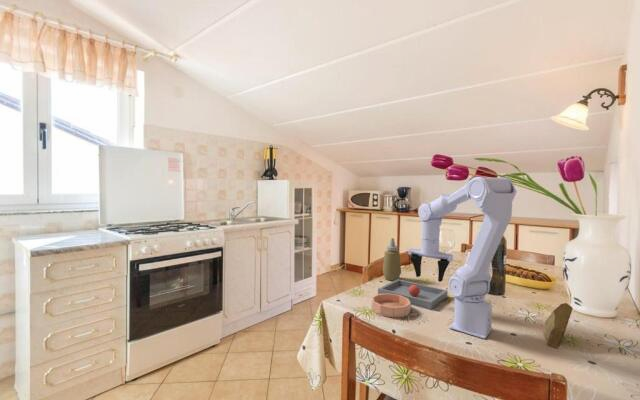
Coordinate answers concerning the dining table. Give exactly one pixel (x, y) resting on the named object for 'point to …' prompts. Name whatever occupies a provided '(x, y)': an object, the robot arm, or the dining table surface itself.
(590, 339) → the dining table surface
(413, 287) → the ball
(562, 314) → the rock
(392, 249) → the squeeze bottle
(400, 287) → the tray
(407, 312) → the pink bowl
